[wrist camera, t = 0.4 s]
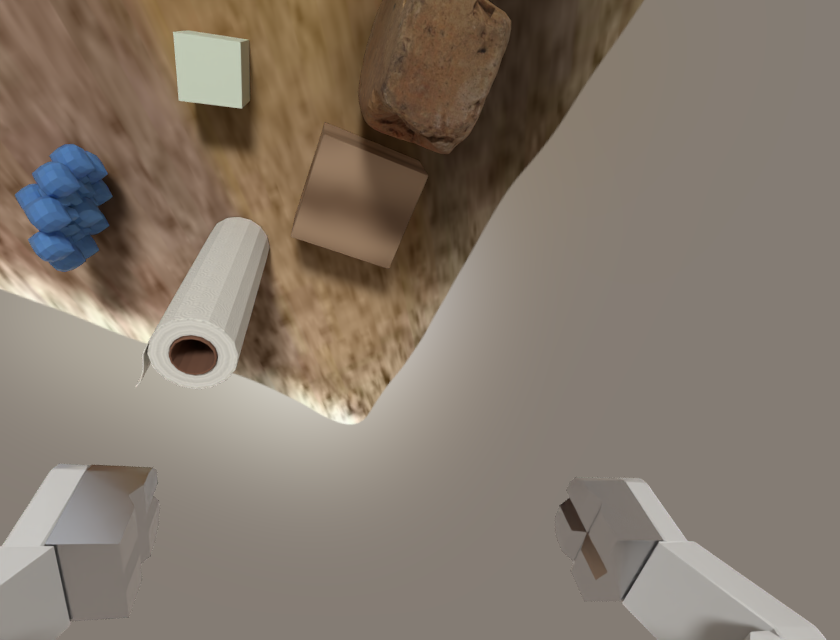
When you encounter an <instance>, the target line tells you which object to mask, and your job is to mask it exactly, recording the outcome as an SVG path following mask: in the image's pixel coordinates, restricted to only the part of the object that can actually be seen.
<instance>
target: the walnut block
mask: <svg viewBox="0 0 840 640" xmlns="http://www.w3.org/2000/svg"><path fill="white" fill-rule="evenodd" d="M427 178H428V175H427V173H426V171H425V170H424V168H423V166H422V165H421V163H420V161H419V160H416V159H414V158H411V157H409V156H406V155H404V154H402V153H399V152H397V151H394V150H392V149H389V148H387V147H384V146H382V145H380V144H377V143H375V142H372V141H370V140H367V139H365V138H362V137H360V136H358V135H355V134H353V133H350V132H348V131H345V130H343V129H340V128H338V127H336V126H333V125H331V124H328V123H326V122H325V124H324V127H323V130H322V133H321V136H320V139H319V142H318V145H317V149H316V152H315V155H314V158H313V161H312V164H311V167H310V170H309V174H308V177H307V180H306V183H305V186H304V189H303V192H302V195H301V199H300V202H299V205H298V208H297V211H296V214H295V218H294V223H293V228H292V233H291V237H293V238H296V239H299V240H302V241H305V242H308V243H311V244H314V245H317V246H320V247H323V248H327V249H330V250H333V251H336V252H339V253H342V254H345V255H348V256H351V257H354V258H357V259H360V260H363V261H366V262H369V263H372V264H375V265H378V266H381V267H384V268H387V269H389V267H390V265H391V263H392V260H393V258H394V256H395V253H396V251H397V249H398V246H399V244H400V242H401V239H402V237H403V235H404V232H405V230H406V227H407V225H408V223H409V220H410V218H411V216H412V213H413V211H414V209H415V206H416V204H417V202H418V199H419V197H420V195H421V192H422V190H423V187H424V185H425V183H426V180H427Z"/></svg>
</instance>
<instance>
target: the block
mask: <svg viewBox="0 0 840 640" xmlns="http://www.w3.org/2000/svg"><path fill="white" fill-rule="evenodd" d="M510 33H511V20H510V19H509V17H508V16H507V14H506V13H505V12H504V11H503V10H501V9H499V8H498V7H496V6H495V5H494V4H492V3H491V2H490V1H488V0H383V1H382V3H381V4H380V7H379V9H378V12H377V15H376V17H375V20H374V24H373V27H372V30H371V34H370V37H369V41H368V44H367V48H366V51H365V56H364V61H363V66H362V71H361V76H360V83H359V104H360V108H361V112H362V115H363V118H364V120H365V121H366V123H367V124H368V125H369V126H371V127H372V128H373V129H375V130H377V131H379V132H380V133H383V134H387V135H390V136H392V137H395V138H398V139H401V140H405V141H408V142H412V143H415V144H417V145H419V146H422V147H424V148H426V149H429V150H432V151H434V152H437V153H440V154H449V153H450V152H451V151H452V150H453V149H454V148H455V147H456V146H457V145H458V144H459V143H460V142H462V141H463V140H464V139H465V138H466V137H467V136H468V135H469V134H470V132H471V131H472V129H473V127H474V126H475V124H476V122H477V120H478V118H479V116H480V113H481V110H482V108H483V105H484V103H485V100H486V97H487V95H488V94H489V91H490V88H491V86H492V84H493V82H494V80H495V77H496V75H497V72H498V70H499V66H500V63H501V60H502V57H503V55H504V53H505V51H506V48H507V45H508V42H509V38H510Z"/></svg>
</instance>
